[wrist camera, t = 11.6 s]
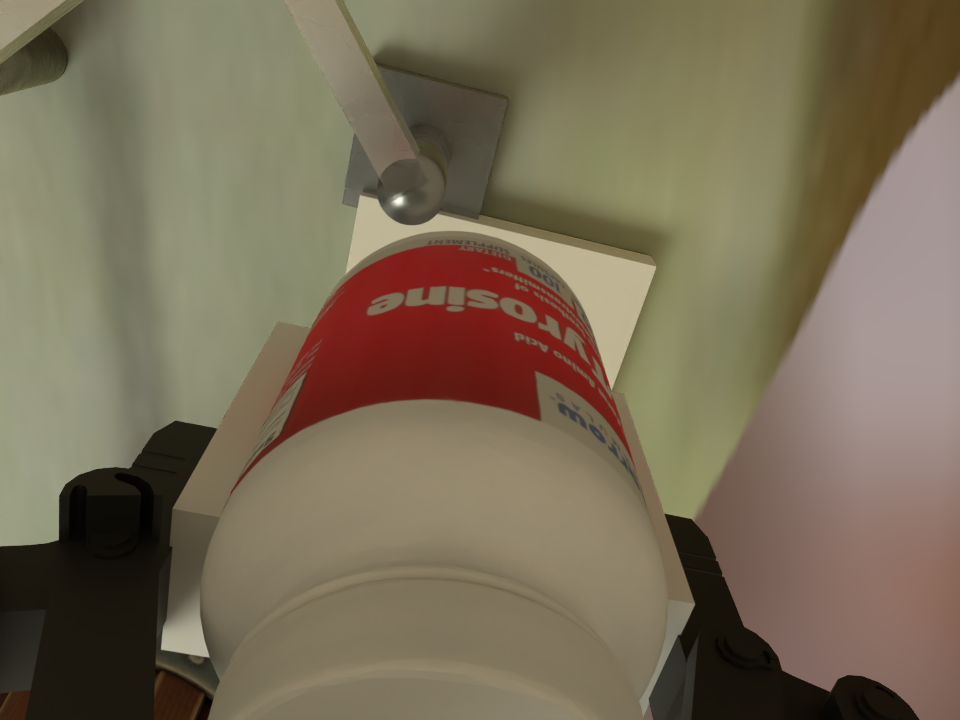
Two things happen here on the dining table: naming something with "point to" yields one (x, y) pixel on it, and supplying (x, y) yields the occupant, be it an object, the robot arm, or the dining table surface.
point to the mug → (177, 693)
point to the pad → (581, 264)
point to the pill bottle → (438, 509)
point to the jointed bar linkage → (361, 94)
